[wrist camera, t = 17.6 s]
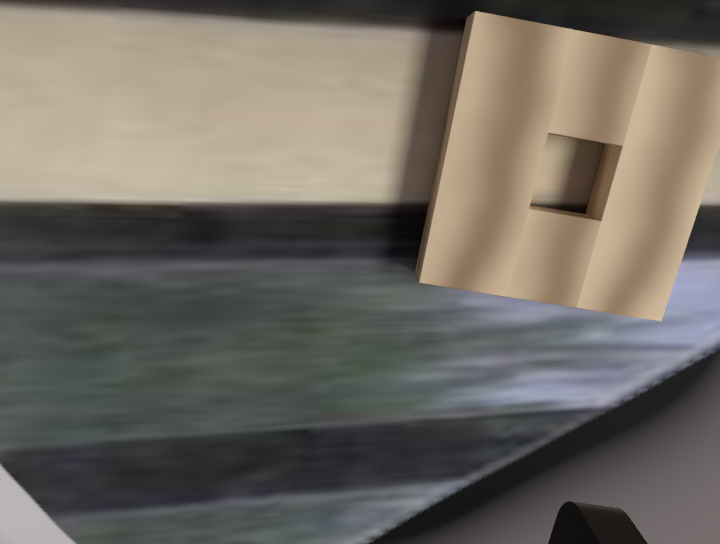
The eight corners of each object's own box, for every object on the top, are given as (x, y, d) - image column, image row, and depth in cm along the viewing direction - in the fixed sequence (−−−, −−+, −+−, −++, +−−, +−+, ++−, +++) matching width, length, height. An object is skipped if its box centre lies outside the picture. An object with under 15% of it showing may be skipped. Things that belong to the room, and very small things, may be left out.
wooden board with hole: (415, 272, 38) (419, 282, 36) (466, 18, 34) (475, 10, 32) (642, 308, 39) (661, 321, 37) (719, 65, 35) (746, 62, 33)
